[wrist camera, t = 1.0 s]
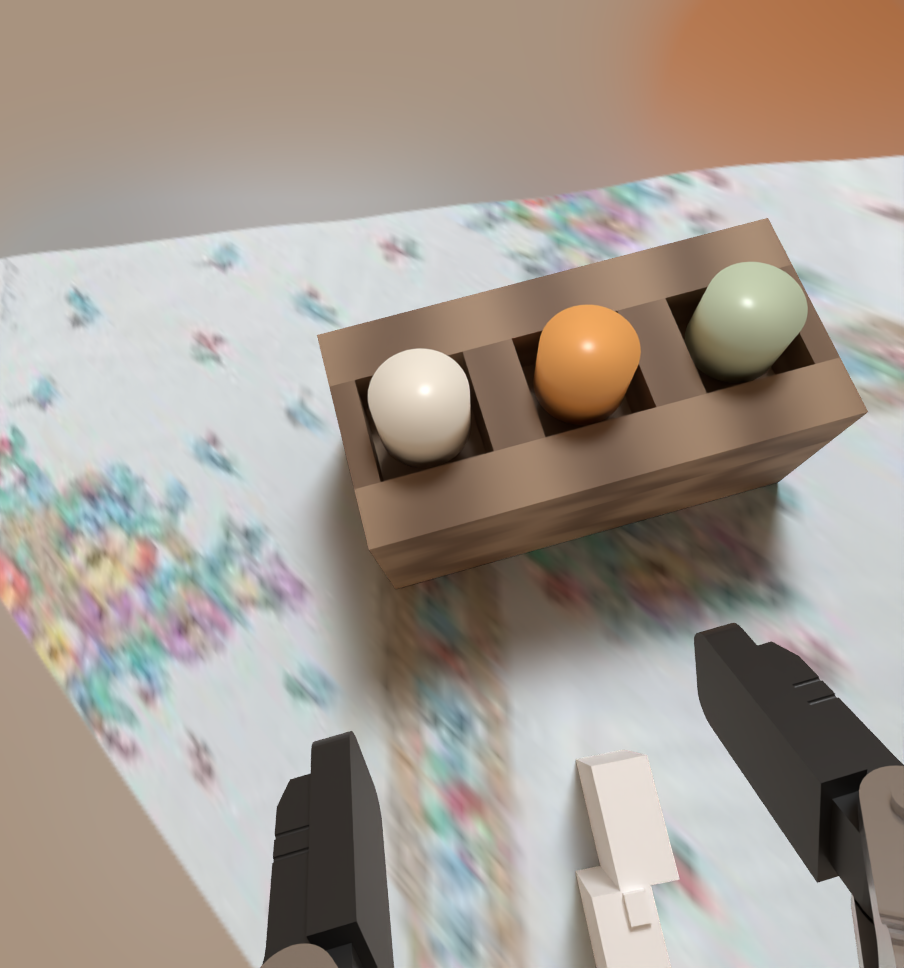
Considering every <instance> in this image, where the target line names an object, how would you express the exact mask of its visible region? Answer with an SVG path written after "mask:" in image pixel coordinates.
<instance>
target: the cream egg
mask: <svg viewBox="0 0 904 968" xmlns="http://www.w3.org/2000/svg"><path fill="white" fill-rule="evenodd" d="M368 404H369V408H370V411H371V414H372V417H373V420H374V422H375V425H376V428H377V431H378V433H379V436H380V439H381V442H382V444H383V446H384V447H385V449H386V450H387V452H388V453H389V454H390V455H391V456H392V457H394V458H395V459H396V460H398V461H399V462H401V463H403V464H405V465H408V466H412V467H417V468H430V467H435V466H439V465H442V464H444V463H446V462H448V461H450V460H451V459H453V458H454V457H455V456H456V455H457V454H458V453H459V452H460V451H461V450H462V449H463V447H464V446H465V444H466V442H467V440H468V437H469V434H470V429H471V412H470V389H469V383H468V380H467V377H466V375H465V373H464V371H463V370H462V368H461V367H460V366H459V365H458V364H457V363H456V362H455V361H454V360H453V359H452V358H450V357H449V356H447V355H445V354H443V353H441V352H438V351H435V350H431V349H410V350H406V351H403V352H400V353H398V354H395V355H393V356H392V357H390V358H389V359H387V360H386V361H385V362H384V363H383V364H382V365H381V366H380V367H379V368H378V369H377V370H376V372H375V373H374V375H373V377H372V379H371V382H370V385H369V389H368Z"/></svg>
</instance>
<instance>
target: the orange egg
mask: <svg viewBox="0 0 904 968" xmlns="http://www.w3.org/2000/svg"><path fill="white" fill-rule="evenodd" d="M640 354H641V347H640V342H639V338H638V335H637V333H636V331H635V330H634V328H633V327H632V325H631V324H630V323H629V322H628V321H627V320H626V319H625V318H624V317H623V316H621V315H620V314H618V313H617V312H615V311H613V310H611V309H608V308H606V307H602V306H598V305H578V306H573V307H570V308H567V309H565V310H563V311H561V312H559V313H558V314H556V315H555V316H554V317H553V318H551V320H550V321H549V322H548V323H547V324H546V326H545V327H544V329H543V331H542V333H541V336H540V341H539V347H538V353H537V359H536V366H535V372H534V379H533V385H534V391H535V395H536V397H537V399H538V401H539V403H540V405H541V406H542V407H543V408H544V409H545V410H546V411H547V412H548V413H549V414H550V415H551V416H553V417H554V418H556V419H558V420H560V421H563V422H565V423H569V424H574V425H589V424H594V423H597V422H600V421H602V420H604V419H606V418H607V417H609V416H610V415H611V414H613V413H614V412H615V411H616V409H617V408H618V407H619V405H620V404H621V402H622V400H623V398H624V395H625V393H626V391H627V389H628V387H629V384H630V382H631V380H632V378H633V375H634V373H635V371H636V369H637V366H638V364H639V360H640Z"/></svg>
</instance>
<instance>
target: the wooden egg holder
mask: <svg viewBox="0 0 904 968" xmlns="http://www.w3.org/2000/svg"><path fill="white" fill-rule="evenodd" d="M742 262H760V263H765V264H769V265H772V266H775V267H777V268H779V269H781V270H783V271H784V272H786V273H787V274H788V275H790V276H791V277H792V278H793V279H794V280H795V281H796V282H797V283H798V284H799V286H800V287H801V289H802V291H803V292H804V295H805V297H806V301H807V307H808V313H807V319H806V322H805V324H804V326H803V328H802V330H801V331H800V332H799V333H798V335H797V336H796V337H795V338H794V339H793V341H792V342H791V343H790V344H789V345H788V347H787V348H786V349H785V350H784V351H783V353H782V354H781V355H780V356H779V358H778V359H777V360H776V361H775V362H774V364H773V365H772V366H771V367H770V368H769V370H768V371H767V372H765V373H764V374H763V375H762V376H760V377H758V378H756V379H754V380H751V381H748V382H743V383H728V382H723V381H719V380H716V379H714V378H711V377H710V376H708V375H706V374H705V373H703V372H702V371H701V370H699V369H698V368H697V367H696V366H695V364H694V363H693V361H692V358H691V356H690V354H689V351H688V349H687V347H686V345H685V331H686V328H687V325H688V323H689V321H690V319H691V318H692V316H693V314H694V312H695V310H696V308H697V306H698V304H699V302H700V301H701V299H702V297H703V295H704V293H705V291H706V289H707V287H708V285H709V284H710V282H711V280H712V279H713V278H714V277H715V276H716V275H717V274H718V273H719V272H720V271H721V270H723V269H725V268H726V267H728V266H731V265H734V264H737V263H742ZM578 305H598V306H602V307H606V308H608V309H611V310H613V311H615V312H617V313H618V314H620V315H621V316H623V317H624V318H625V319H626V320H627V321H628V322H629V323H630V324H631V325H632V327H633V328H634V330H635V331H636V333H637V335H638V338H639V342H640V347H641V354H640V360H639V364H638V366H637V369H636V371H635V373H634V375H633V378H632V380H631V382H630V384H629V387H628V389H627V391H626V393H625V395H624V398H623V400H622V402H621V404H620V405H619V407H618V408H617V409H616V411H615V412H614V413H613V414H611V415H610V416H609V417H607V418H606V419H604V420H602V421H600V422H597V423H594V424H589V425H574V424H569V423H565V422H563V421H560V420H558V419H556V418H554V417H553V416H551V415H550V414H549V413H548V412H547V411H546V410H545V409H544V408H543V407H542V406H541V405H540V403H539V401H538V399H537V397H536V395H535V391H534V385H533V379H534V372H535V366H536V359H537V353H538V347H539V341H540V336H541V333H542V331H543V329H544V327H545V326H546V324H547V323H548V322H549V321H550V320H551V318H553V317H554V316H555V315H556V314H558V313H559V312H561V311H563V310H565V309H567V308H570V307H573V306H578ZM317 337H318V341H319V345H320V349H321V353H322V358H323V362H324V366H325V370H326V374H327V378H328V383H329V387H330V391H331V395H332V399H333V403H334V407H335V412H336V416H337V420H338V424H339V428H340V432H341V437H342V441H343V445H344V449H345V453H346V457H347V461H348V466H349V470H350V474H351V478H352V482H353V486H354V491H355V495H356V499H357V503H358V507H359V511H360V515H361V520H362V524H363V528H364V532H365V536H366V540H367V545H368V549H369V551H370V552H371V554H372V555H373V557H374V558H375V560H376V561H377V563H378V564H379V566H380V567H381V569H382V570H383V571H384V573H385V574H386V576H387V577H388V579H389V580H390V582H391V583H392V585H393V586H394V588H395V589H398V588H402V587H405V586H409V585H412V584H416V583H420V582H423V581H427V580H430V579H434V578H437V577H441V576H445V575H448V574H452V573H455V572H459V571H462V570H466V569H470V568H473V567H477V566H480V565H484V564H487V563H491V562H495V561H498V560H502V559H505V558H509V557H513V556H516V555H520V554H523V553H527V552H530V551H534V550H538V549H541V548H545V547H548V546H552V545H555V544H559V543H563V542H566V541H570V540H573V539H577V538H580V537H584V536H588V535H591V534H595V533H598V532H602V531H606V530H609V529H613V528H616V527H620V526H623V525H627V524H631V523H634V522H638V521H641V520H645V519H648V518H652V517H656V516H659V515H663V514H666V513H670V512H673V511H677V510H681V509H684V508H688V507H691V506H695V505H699V504H702V503H706V502H709V501H713V500H716V499H720V498H724V497H727V496H731V495H734V494H738V493H741V492H745V491H749V490H752V489H756V488H759V487H763V486H766V485H770V484H774V483H777V482H779V481H780V480H782V479H783V478H784V477H785V476H787V475H788V474H789V473H791V472H792V471H793V470H794V469H796V468H797V467H798V466H800V465H801V464H802V463H803V462H805V461H806V460H807V459H808V458H810V457H811V456H812V455H814V454H815V453H816V452H817V451H819V450H820V449H821V448H823V447H824V446H825V445H826V444H828V443H829V442H830V441H831V440H833V439H834V438H835V437H837V436H838V435H839V434H840V433H842V432H843V431H844V430H846V429H847V428H848V427H849V426H851V425H852V424H853V423H854V422H856V421H857V420H858V419H860V418H861V417H862V416H863V415H865V414H866V413H867V412H868V411H867V409H866V407H865V405H864V403H863V401H862V399H861V397H860V395H859V393H858V391H857V389H856V387H855V386H854V384H853V382H852V380H851V378H850V376H849V374H848V372H847V370H846V368H845V366H844V364H843V362H842V360H841V358H840V357H839V355H838V353H837V351H836V349H835V347H834V345H833V343H832V341H831V339H830V337H829V335H828V333H827V331H826V329H825V328H824V326H823V324H822V322H821V320H820V318H819V316H818V314H817V312H816V310H815V308H814V306H813V304H812V302H811V300H810V298H809V297H808V295H807V293H806V291H805V289H804V287H803V285H802V283H801V281H800V279H799V277H798V275H797V273H796V271H795V269H794V268H793V266H792V264H791V262H790V260H789V258H788V256H787V254H786V252H785V250H784V248H783V246H782V244H781V242H780V240H779V239H778V237H777V235H776V233H775V231H774V229H773V227H772V225H771V223H770V221H769V219H768V218H766V219H762V220H758V221H754V222H751V223H747V224H743V225H739V226H735V227H731V228H728V229H724V230H720V231H716V232H712V233H708V234H704V235H701V236H697V237H693V238H689V239H685V240H681V241H678V242H674V243H670V244H666V245H662V246H658V247H654V248H651V249H647V250H643V251H639V252H635V253H631V254H628V255H624V256H620V257H616V258H612V259H608V260H604V261H601V262H597V263H593V264H589V265H585V266H581V267H578V268H574V269H570V270H566V271H562V272H558V273H554V274H551V275H547V276H543V277H539V278H535V279H531V280H528V281H524V282H520V283H516V284H512V285H508V286H504V287H501V288H497V289H493V290H489V291H485V292H481V293H478V294H474V295H470V296H466V297H462V298H458V299H454V300H451V301H447V302H443V303H439V304H435V305H431V306H428V307H424V308H420V309H416V310H412V311H408V312H404V313H401V314H397V315H393V316H389V317H385V318H381V319H378V320H374V321H370V322H366V323H362V324H358V325H354V326H351V327H347V328H343V329H339V330H335V331H331V332H328V333H324V334H320V335H317ZM410 349H431V350H435V351H438V352H441V353H443V354H445V355H447V356H449V357H450V358H452V359H453V360H454V361H455V362H456V363H457V364H458V365H459V366H460V367H461V368H462V370H463V371H464V373H465V375H466V377H467V380H468V383H469V389H470V412H471V429H470V434H469V437H468V440H467V442H466V444H465V446H464V447H463V449H462V450H461V451H460V452H459V453H458V454H457V455H456V456H455V457H454V458H453V459H451V460H450V461H448V462H446V463H444V464H442V465H439V466H435V467H430V468H417V467H412V466H408V465H405V464H403V463H401V462H399V461H398V460H396V459H395V458H394V457H392V456H391V455H390V454H389V453H388V452H387V450H386V449H385V447H384V446H383V444H382V442H381V439H380V436H379V433H378V431H377V428H376V425H375V422H374V420H373V417H372V414H371V411H370V408H369V404H368V389H369V385H370V382H371V379H372V377H373V375H374V373H375V372H376V370H377V369H378V368H379V367H380V366H381V365H382V364H383V363H384V362H385V361H386V360H387V359H389V358H390V357H392V356H393V355H395V354H398V353H400V352H403V351H406V350H410Z"/></svg>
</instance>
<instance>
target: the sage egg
mask: <svg viewBox="0 0 904 968" xmlns="http://www.w3.org/2000/svg"><path fill="white" fill-rule="evenodd" d="M807 313H808V307H807V301H806V297H805V295H804V292H803V291H802V289H801V287H800V286H799V284H798V283H797V282H796V281H795V280H794V279H793V278H792V277H791V276H790V275H788V274H787V273H786V272H784V271H783V270H781V269H779V268H777V267H775V266H772V265H769V264H765V263H760V262H742V263H737V264H734V265H731V266H728V267H726V268H725V269H723V270H721V271H720V272H719V273H718V274H717V275H716V276H715V277H714V278H713V279H712V280H711V282H710V284H709V285H708V287H707V289H706V291H705V293H704V295H703V297H702V299H701V301H700V302H699V304H698V306H697V308H696V310H695V312H694V314H693V316H692V318H691V319H690V321H689V323H688V325H687V328H686V331H685V345H686V347H687V349H688V351H689V354H690V356H691V358H692V361H693V363H694V364H695V366H696V367H697V368H698V369H699V370H701V371H702V372H703V373H705V374H706V375H708V376H710V377H711V378H714V379H716V380H719V381H723V382H728V383H743V382H748V381H751V380H754V379H756V378H758V377H760V376H762V375H763V374H764V373H765V372H767V371H768V370H769V368H770V367H771V366H772V365H773V364H774V362H775V361H776V360H777V359H778V358H779V356H780V355H781V354H782V353H783V351H784V350H785V349H786V348H787V347H788V345H789V344H790V343H791V342H792V341H793V339H794V338H795V337H796V336H797V335H798V333H799V332H800V331H801V330H802V328H803V326H804V324H805V322H806V319H807Z"/></svg>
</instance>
